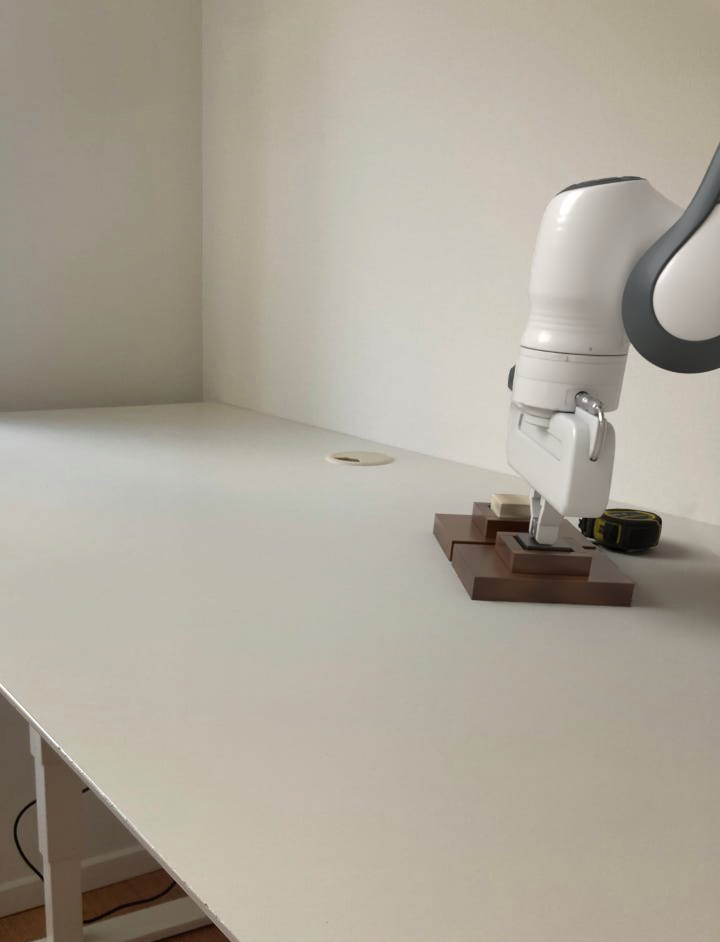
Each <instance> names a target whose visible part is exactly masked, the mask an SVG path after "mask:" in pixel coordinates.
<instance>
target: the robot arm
mask: <svg viewBox="0 0 720 942" xmlns="http://www.w3.org/2000/svg"><path fill="white" fill-rule="evenodd" d="M529 273H530V274H529V280H528V286H527V297H528V306H529V307H528V309H529V310H528V318H527V323H526V326H525V329H524V330H523V333H522V336H521V338H520V342H519V348H518V355H517V359H516V362H514V363H513V364H511V366H510V367H509V368H508V372H507V376H506V377H507V378H506V389H507V391H508V392H510V393H511V396H510V399H509V404H508V413H507V415H508V416H507V427H506V441H505V442H506V443H505V452H506V455H505V456H506V462H507V465H508V466H509V467H510V468H511V469H512V470H513V471H514V472H515V473H516V474H517V475H518V476H519V477H520V478H521V479H522V480H523V481H525V482H526V484H528V486H530V489H529V494H528V495H529V496H530V511H531V520H530V527H529V533H530V534H531V535H532V536H533V537H534V538H535V540H536V541H537V542H538V543H539V544H547V545H552V544H555V543H556V541H557V537H558V531H559V526H560V525H561V523H562V521H563V519H565V517H568V518H580V519H582V518H599V517H601V516H602V514H603V513H604V511H605V509H607V507H608V505H609V500H610V495H611V487H612V481H613V471H614V465H615V464H614V463H615V456H616V441H617V440H616V438H617V437H616V430H615V428H614V425H613V424H612V423H611V422H610V421H608V419H607V418H606V417H605V413H611V412H615V411H617V410H618V409H619V406H620V400H621V394H622V390H623V383H624V378H625V372H626V368H627V367H626V366H627V361H628V357H629V351H630V346H631V345H632V347H633V348H634V349H635V351H636V352H637V353H638V354H639V355H640V356H641V357H642V358H643V359H644V360H646V361H647V362H648V363H650V364H651V365H654V366H655V367H656V368H659V369H662V370H664V371H668V372H671V373H676V374H683V375H684V374H685V375H690V374H691V375H695V374H702V373H708V372H712V371H715V370H718V369H720V141H719V142H718V145H717V147H716V149H715V151H714V153H713V156H712V158H711V160H710V162H709V165H708V167H707V169H706V171H705V173H704V175H703V178H702V180H701V182H700V184H699V186H698V188H697V190H696V192H695V193H694V195H693V197H692V199H691V201H690V203H689V204H688V206H687V207H686V209H685V208H683V207H681V206H680V205H678V204H677V203H675V202H673V201H672V200H671V199H669V198H667V197H666V196H665V195H664V194H662V193H661V192H659V191H658V190H657V189H656V188H655V187H654V186H653V185H652V184H651V182H650V181H649V179H647V178H644V177H641V176H637V175H635V176H634V175H623V176H610V177H603V178H598V179H597V178H596V179H591V180H586V181H581V182H578V183H573V184H571V185H569V186H567V187H565V188H563V189H562V190H561V191H559V192H558V193H557V194H555V196H554V197H553V198H552V199H551V200H550V201H549V203H548V204H547V206H546V209H545V211H544V213H543V216H542V219H541V221H540V226H539V229H538V232H537V237H536V242H535V246H534V251H533V256H532V262H531V268H530V272H529Z"/></svg>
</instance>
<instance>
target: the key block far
mask: <svg viewBox="0 0 720 942" xmlns="http://www.w3.org/2000/svg"><path fill="white" fill-rule="evenodd" d="M490 508H491V502H484V501H473V504H472V510H471V511H472V512H471V514H457V513H434V521H433V527H432V534H433V536H434V537H435V539H436V541H437V543H438V544H439V546H440V548H441V549H442V552H443V553H444V555H445V557H446V558H447V560H448V562H449V563H452V556H453V548H454V544H474V545H495V543H496V536H497V532H518V533H529V527H530V520H531V519H530V518H507V517H497V516H496V515H495V514H494V513H493V512H492V510H491V509H490ZM558 534H564V535H571V536H572V537H573V539H575V540H576V541H577V542H578V543H579V544H580V545H581V546H582V547H583V548H584V549H589V550H597V547H596V545H595V544H594V543H593V542H591V540H590V539H589V538H587V537H585V536H584V535H583V534H582V533H581V530H579V528H577V527H576V526H575V525H574V524H573V523H572V522H570V520H569V519H567V518H564V519H563V521H562V523H561V525H560V526H559V531H558Z"/></svg>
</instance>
